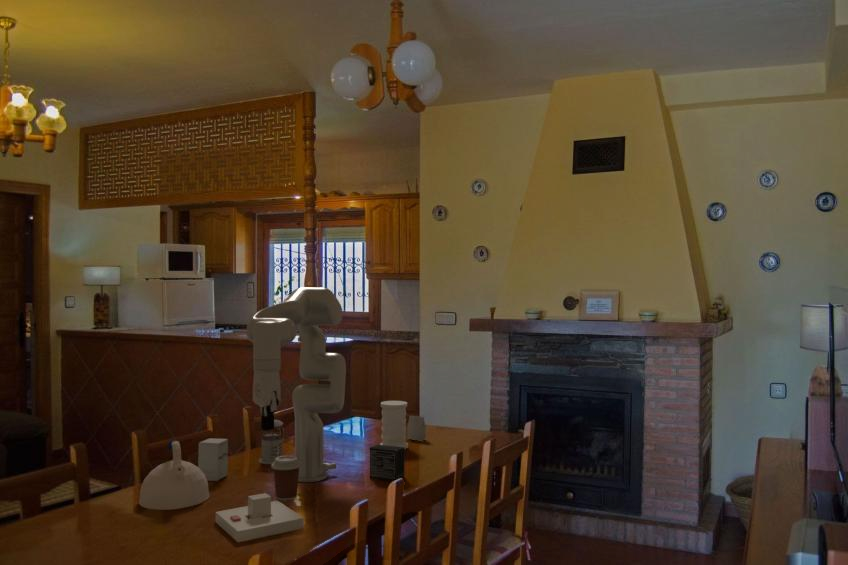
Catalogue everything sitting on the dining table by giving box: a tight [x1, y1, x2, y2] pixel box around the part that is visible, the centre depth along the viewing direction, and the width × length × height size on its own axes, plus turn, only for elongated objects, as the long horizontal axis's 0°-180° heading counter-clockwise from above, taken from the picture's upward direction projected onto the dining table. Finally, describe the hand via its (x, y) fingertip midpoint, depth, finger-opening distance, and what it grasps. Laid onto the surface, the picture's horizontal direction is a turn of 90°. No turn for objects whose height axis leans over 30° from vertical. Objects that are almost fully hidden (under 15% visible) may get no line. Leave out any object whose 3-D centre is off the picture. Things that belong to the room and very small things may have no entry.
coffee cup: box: [270, 455, 301, 502], centre depth 210 cm, size 9×9×12 cm
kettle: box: [138, 439, 210, 511], centre depth 208 cm, size 20×21×18 cm
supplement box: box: [197, 437, 229, 482], centre depth 231 cm, size 7×7×13 cm
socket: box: [215, 500, 305, 543], centre depth 185 cm, size 18×18×3 cm
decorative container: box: [379, 400, 409, 450], centre depth 276 cm, size 12×12×18 cm
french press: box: [258, 419, 285, 465], centre depth 255 cm, size 10×12×25 cm
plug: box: [247, 492, 272, 519], centre depth 185 cm, size 5×5×8 cm
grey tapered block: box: [406, 415, 427, 442], centre depth 289 cm, size 4×7×10 cm, turn 61°
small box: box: [369, 444, 405, 482], centre depth 232 cm, size 11×6×10 cm, turn 65°
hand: (267, 429), depth 193 cm, fingers closed
